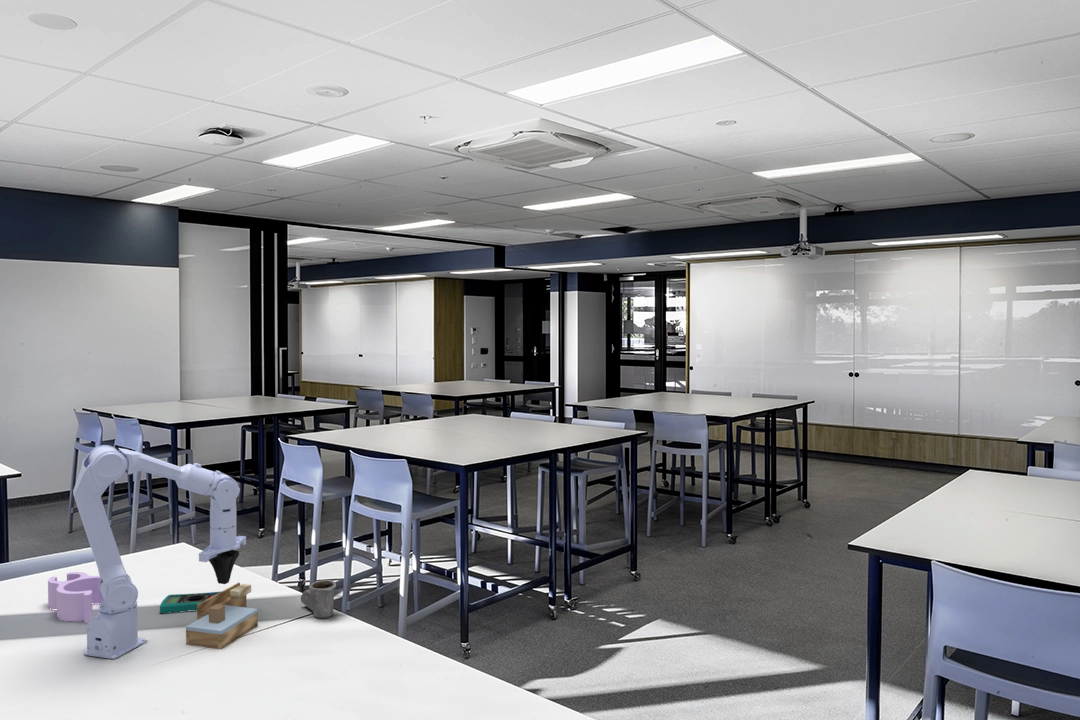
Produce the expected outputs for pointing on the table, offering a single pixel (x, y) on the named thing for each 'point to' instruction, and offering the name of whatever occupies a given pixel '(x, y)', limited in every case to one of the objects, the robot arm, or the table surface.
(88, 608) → the clip
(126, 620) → the robot arm
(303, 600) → the pipe
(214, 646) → the toolbox
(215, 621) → the lid
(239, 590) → the cream rectangular block
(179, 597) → the digital multimeter
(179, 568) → the table surface
